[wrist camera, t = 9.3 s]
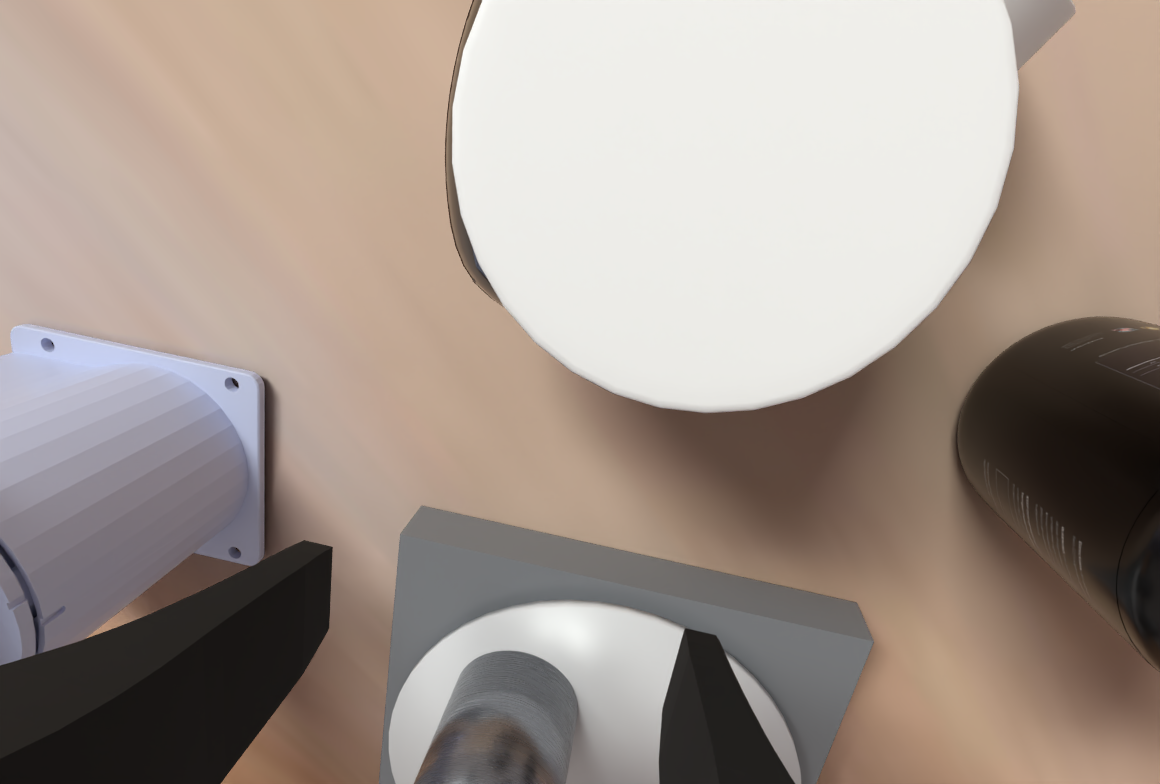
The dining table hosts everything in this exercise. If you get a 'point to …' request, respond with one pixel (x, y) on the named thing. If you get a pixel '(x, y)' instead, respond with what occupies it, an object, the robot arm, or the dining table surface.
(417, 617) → the kitchen scale
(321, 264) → the dining table surface
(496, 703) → the cylinder
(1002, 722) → the dining table surface
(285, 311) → the dining table surface
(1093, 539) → the supplement bottle
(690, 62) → the spread jar
